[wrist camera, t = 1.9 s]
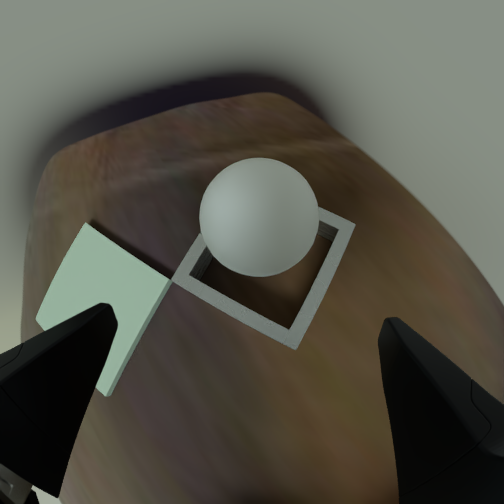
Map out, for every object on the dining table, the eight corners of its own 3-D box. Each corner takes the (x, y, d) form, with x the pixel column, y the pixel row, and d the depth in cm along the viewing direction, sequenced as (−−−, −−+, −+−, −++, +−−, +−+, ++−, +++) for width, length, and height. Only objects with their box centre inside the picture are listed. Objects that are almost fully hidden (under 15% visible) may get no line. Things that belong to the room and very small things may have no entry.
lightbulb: (299, 222, 22) (310, 127, 12) (310, 295, 20) (342, 244, 10) (226, 231, 23) (186, 143, 12) (230, 304, 21) (182, 263, 10)
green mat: (172, 281, 22) (169, 279, 21) (110, 395, 19) (105, 396, 18) (89, 225, 25) (85, 222, 24) (40, 320, 22) (35, 318, 21)
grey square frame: (348, 237, 21) (355, 224, 19) (293, 349, 19) (295, 350, 17) (243, 189, 24) (239, 173, 21) (182, 287, 21) (170, 280, 19)
